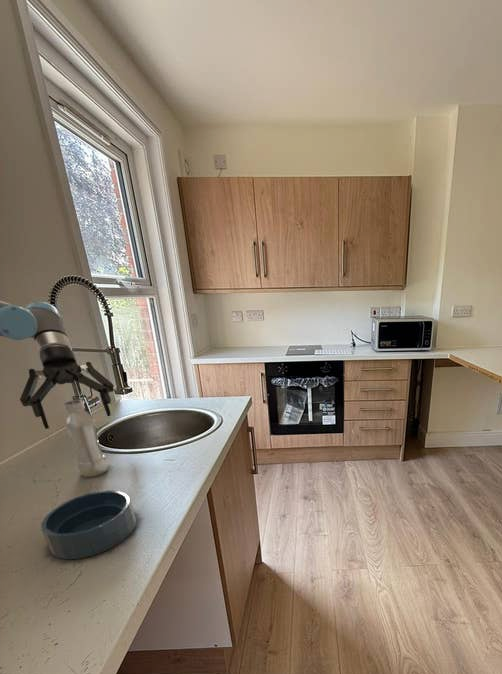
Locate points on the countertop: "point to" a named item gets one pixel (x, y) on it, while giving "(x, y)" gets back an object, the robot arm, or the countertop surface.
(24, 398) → the robot arm
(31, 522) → the countertop surface
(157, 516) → the countertop surface
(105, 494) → the bowl
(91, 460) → the plastic bottle
